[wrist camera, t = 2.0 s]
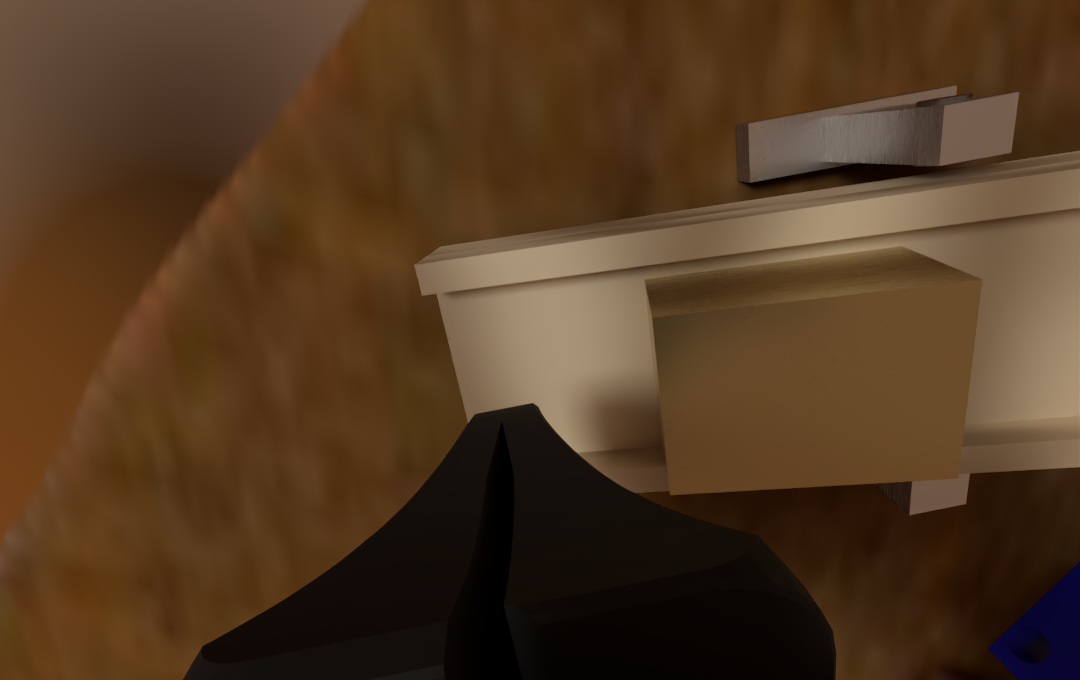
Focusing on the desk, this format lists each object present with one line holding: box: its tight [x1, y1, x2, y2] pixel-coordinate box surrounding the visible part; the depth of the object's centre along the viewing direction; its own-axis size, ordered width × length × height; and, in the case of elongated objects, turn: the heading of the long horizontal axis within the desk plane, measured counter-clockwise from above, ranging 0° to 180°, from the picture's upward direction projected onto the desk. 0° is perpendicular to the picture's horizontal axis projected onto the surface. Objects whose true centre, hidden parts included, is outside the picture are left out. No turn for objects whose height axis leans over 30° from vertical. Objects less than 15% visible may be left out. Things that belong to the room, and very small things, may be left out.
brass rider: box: [644, 246, 982, 495], centre depth 13 cm, size 6×4×3 cm
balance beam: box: [414, 151, 1080, 493], centre depth 13 cm, size 25×7×3 cm, turn 100°
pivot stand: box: [736, 86, 1019, 515], centre depth 15 cm, size 6×11×5 cm, turn 10°
